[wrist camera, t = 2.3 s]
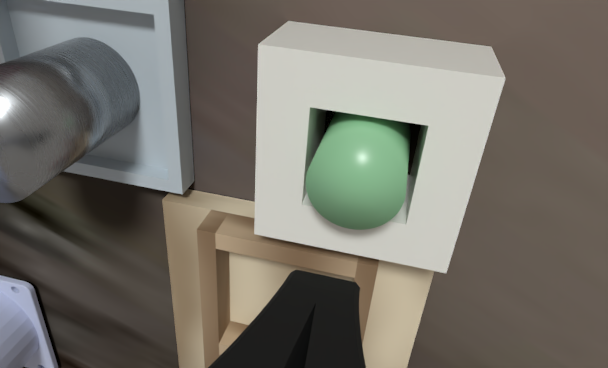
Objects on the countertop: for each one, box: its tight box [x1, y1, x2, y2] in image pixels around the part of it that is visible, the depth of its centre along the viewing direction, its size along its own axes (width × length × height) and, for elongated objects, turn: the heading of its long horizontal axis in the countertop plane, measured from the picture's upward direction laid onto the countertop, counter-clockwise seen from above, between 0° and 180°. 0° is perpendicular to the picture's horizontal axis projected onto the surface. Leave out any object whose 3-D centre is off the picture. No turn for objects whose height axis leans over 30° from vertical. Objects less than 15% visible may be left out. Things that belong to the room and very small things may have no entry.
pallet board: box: [162, 189, 434, 368], centre depth 23 cm, size 12×14×3 cm
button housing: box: [254, 21, 505, 273], centre depth 16 cm, size 7×7×4 cm
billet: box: [0, 37, 140, 203], centre depth 17 cm, size 4×4×6 cm
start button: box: [306, 111, 411, 230], centre depth 16 cm, size 3×3×4 cm
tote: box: [0, 0, 194, 194], centre depth 19 cm, size 8×8×1 cm
